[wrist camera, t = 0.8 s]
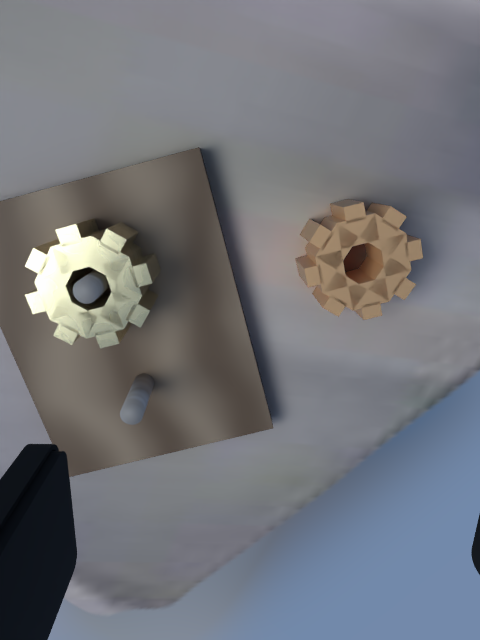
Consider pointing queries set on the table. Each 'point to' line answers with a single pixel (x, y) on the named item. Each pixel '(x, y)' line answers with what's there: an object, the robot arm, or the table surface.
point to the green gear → (69, 267)
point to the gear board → (138, 343)
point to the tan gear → (376, 270)
